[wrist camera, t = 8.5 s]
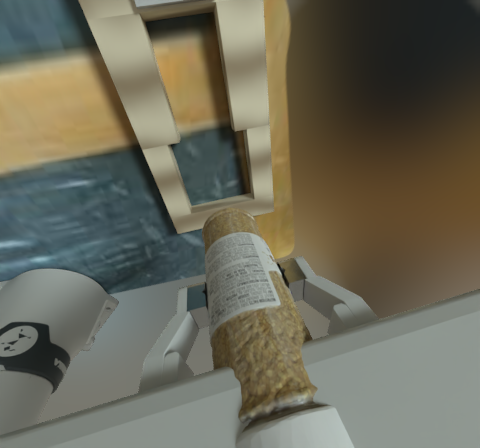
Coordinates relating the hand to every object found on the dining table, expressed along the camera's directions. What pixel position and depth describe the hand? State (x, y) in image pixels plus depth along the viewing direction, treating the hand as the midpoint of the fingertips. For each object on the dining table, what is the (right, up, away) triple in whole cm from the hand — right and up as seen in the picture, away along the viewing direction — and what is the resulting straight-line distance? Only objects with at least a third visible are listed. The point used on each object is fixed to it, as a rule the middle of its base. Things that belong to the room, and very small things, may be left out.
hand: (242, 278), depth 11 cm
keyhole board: (-5, +16, +14) cm, 22 cm away
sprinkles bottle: (-1, +3, +4) cm, 5 cm away
